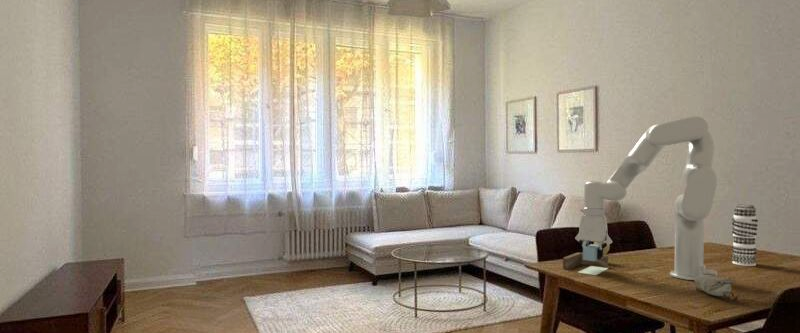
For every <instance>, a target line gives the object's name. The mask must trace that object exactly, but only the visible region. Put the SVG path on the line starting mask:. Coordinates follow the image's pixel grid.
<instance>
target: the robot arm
mask: <svg viewBox="0 0 800 333" xmlns="http://www.w3.org/2000/svg"><path fill="white" fill-rule="evenodd" d="M680 143H686V146H687V153H686V154H687V155H686V159H685V162H684V169H683V171H682V177H681V179H682V180H681V181H682V184H684V187H685V188H684V192H683V193H682V194H680V195H678V196H677V198H676V199H675V201H674V204H673V215H674V216H673V217H674V264H673V266H674V269H673V270H670V271H669V276H670V277H673V278H676V279H681V280H686V281H687V280H688V281H695V278H696V277H697V276H699V275H702V274H703V275H707V276H714V277H717V276H718V271H717V270H714V269H708V268H706V265H705V264H704V247H705V246H704V244H705V243H704V241H705V239H704V238H705V226H704V225H705V224H704V220H705V219H706V218H707V217H708V216H709V215H710V213H711V211H712V208H713V203H714V198H715V194H716V189H717V185H718V178H717V174H716V172H715V170H714V169H713V167H712V166H713V161H714V159H713V158H714V155H715V143H714V140H713V137H712V135H711V134H710V132H709V124H708V121H707V120H706V119H705V118H703V117H701V116H698V115H693V116H688V117H683V118H680V119H675V120H671V121H666V122H661V123H656V124H652V125H651V126H649V127H648V128H647V129H646V130H645V132H644V133H643V135H641V137H640V138H639V140H638V141H637V142H636V143H635V145H634V147H632V149H631V151H630V152H629V153H628V154H627V155H626V157H625V158H624V159H623V161H622V162H621V164H619V166H618V167H617V168H616V169H615V171H614V172H613V174H612V175H611V176H610V178H609V179H608V180H607V181H606V182H603V181H600V180H599V181H598V180H597V181H596V180H595V181H593V180H590V181H586V182H585V183H584V187H583V189H584V190H583V191H584V192H583V193H584V194H583V195H584V197H583V202H584V203H583V208H582V207H581V208H580V209H579V210H580V213H583V214H581V215H580V221H579V227H578V229H579V230H578V233H577V235H576V236H575V237H574V239H575V240H576V241H577V242H578V243H579V244H580V245H581V247H582V248H583V247H585V246H588V245H589V243H590V242H594V243H595V242H598V246H599V249H598V250H597V259H598V260H600V259H602V257H603V249H604V248H605V247H606V246H607V245H610V244H612V243H613V240H612V239H611V237H610V236H609V234H608V232H609V231H608V223H607V217H606V216H605V201H606V200H607V201H612V202H613V201H614V202H618V201H622V200H624V199H625V197H626V196H627V191H628V190H627V188H628V187H629V186H630V185H631V183H633V181H634V180H635V179H636V178H637V176H639V175H641V173H643V172H644V171H646V170H647V169H648V167H649V166H650V165H651V164H652V163H653V161H654V160H655V159H656V158H657V156H658V155H659V154H660V152H661V151H662V150H663V148H664V147H665V146H666V147H667V146H671V145H672V146H673V145H678V144H680ZM603 241H607V242H606V243H603Z"/></svg>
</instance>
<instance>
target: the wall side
mask: <svg viewBox="0 0 800 333" xmlns="http://www.w3.org/2000/svg"><path fill="white" fill-rule="evenodd" d="M578 252H579V251H578ZM579 253H581V264H580V265H585V266H597V267H604V268H609V255H606V256H605V255H603V258H602V259H600V260H596V261H588V260H583V251H580V252H579Z"/></svg>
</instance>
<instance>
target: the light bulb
mask: <svg viewBox="0 0 800 333" xmlns="http://www.w3.org/2000/svg"><path fill="white" fill-rule="evenodd" d="M606 242H607V240H606V241H603V243H606ZM593 244H595V245H598V242H594V243H593ZM610 247H611V245H610V244H609V245H607V246H606V247H605V248H604V249H603V255H605V256H607V255H606V254H607V253H608V252H609V251H610Z"/></svg>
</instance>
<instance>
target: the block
mask: <svg viewBox="0 0 800 333" xmlns="http://www.w3.org/2000/svg"><path fill="white" fill-rule="evenodd" d="M598 249H599V246H598V245H595V244H594V243H593V244H592V243H590V244H588V246H585V247H582V253H583V260H588V261H596V260H598V259H597V250H598ZM602 258H603V257H602Z"/></svg>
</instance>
